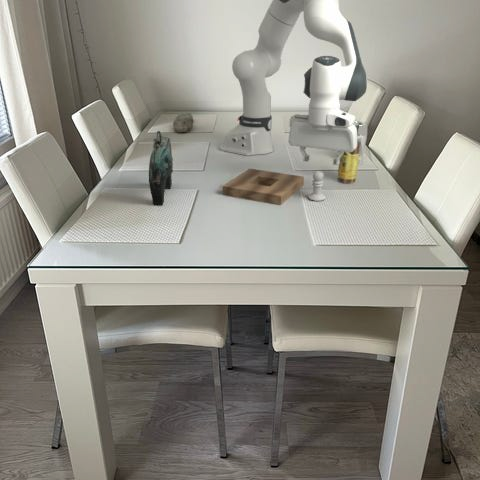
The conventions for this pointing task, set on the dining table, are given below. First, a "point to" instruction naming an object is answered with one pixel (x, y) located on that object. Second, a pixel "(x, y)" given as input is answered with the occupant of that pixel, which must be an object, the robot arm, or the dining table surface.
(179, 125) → the long grey stone
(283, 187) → the walnut board
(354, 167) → the sauce bottle
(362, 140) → the beer glass
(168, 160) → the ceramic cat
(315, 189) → the chess piece
